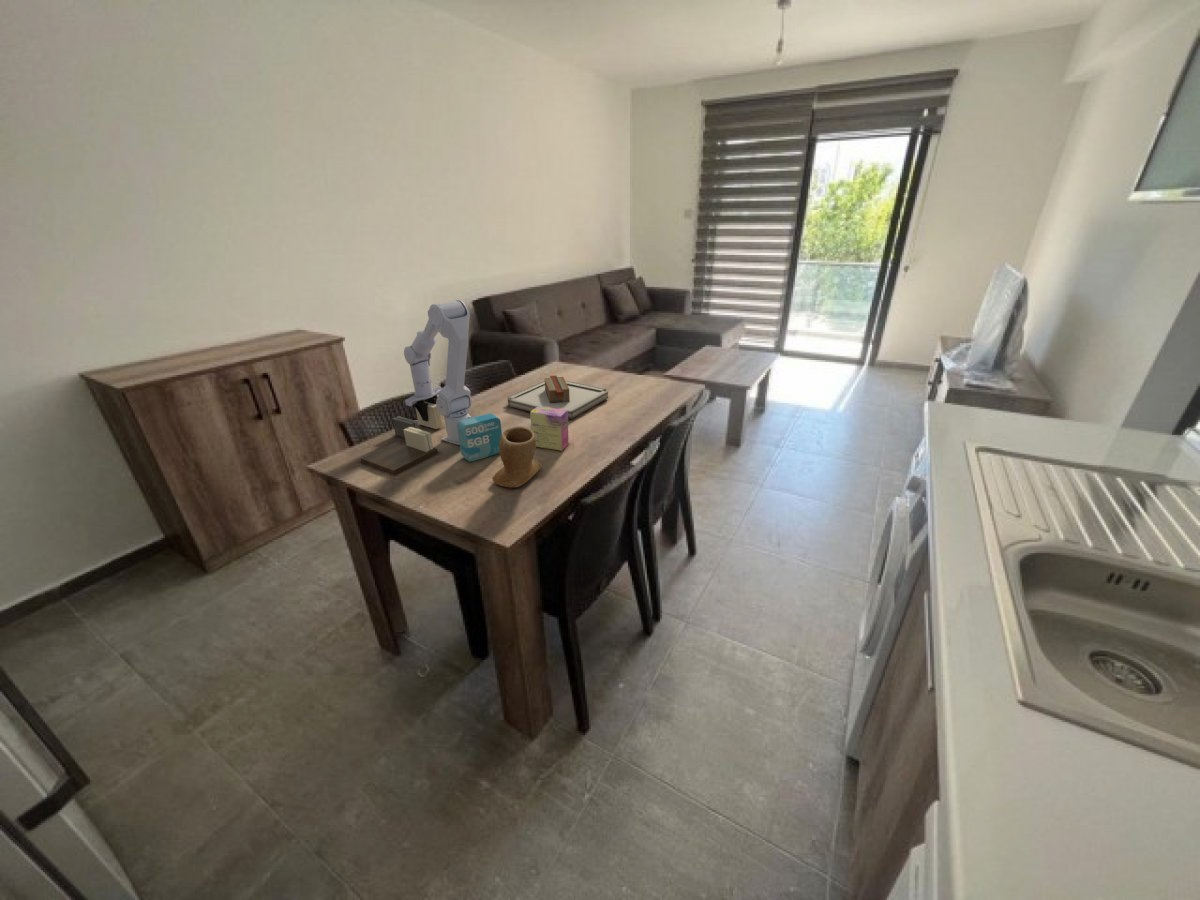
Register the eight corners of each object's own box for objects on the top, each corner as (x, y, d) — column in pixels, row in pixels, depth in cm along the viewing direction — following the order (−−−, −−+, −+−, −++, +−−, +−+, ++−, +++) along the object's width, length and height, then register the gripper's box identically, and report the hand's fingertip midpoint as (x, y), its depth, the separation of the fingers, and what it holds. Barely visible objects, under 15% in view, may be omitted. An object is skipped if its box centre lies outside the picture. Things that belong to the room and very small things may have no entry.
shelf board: (438, 453, 148) (437, 448, 147) (394, 475, 136) (393, 470, 135) (405, 442, 155) (404, 438, 154) (361, 462, 142) (360, 458, 142)
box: (569, 443, 153) (567, 409, 148) (562, 451, 149) (560, 416, 143) (539, 439, 156) (537, 405, 151) (532, 446, 152) (529, 412, 146)
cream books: (433, 448, 147) (430, 432, 145) (426, 452, 145) (423, 435, 143) (413, 442, 151) (410, 426, 149) (406, 445, 149) (403, 429, 147)
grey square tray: (611, 397, 191) (611, 379, 188) (567, 422, 168) (566, 402, 165) (551, 384, 205) (550, 367, 202) (503, 406, 183) (501, 387, 180)
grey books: (420, 437, 158) (417, 421, 155) (413, 441, 156) (410, 424, 153) (402, 432, 162) (398, 415, 159) (395, 435, 160) (392, 418, 157)
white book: (442, 426, 165) (438, 405, 161) (436, 429, 163) (432, 407, 159) (424, 421, 169) (420, 400, 165) (418, 424, 167) (414, 402, 163)
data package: (467, 463, 142) (461, 426, 136) (461, 457, 145) (455, 421, 140) (504, 452, 148) (500, 416, 143) (497, 447, 151) (493, 412, 146)
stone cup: (523, 495, 126) (519, 444, 119) (487, 485, 130) (480, 435, 124) (553, 470, 138) (550, 422, 131) (519, 461, 142) (514, 415, 136)
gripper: (430, 373, 166) (437, 410, 172) (396, 385, 155) (403, 423, 161) (445, 376, 163) (451, 413, 169) (410, 389, 152) (418, 428, 158)
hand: (429, 419), depth 165 cm, fingers closed on white book, 2 cm apart
